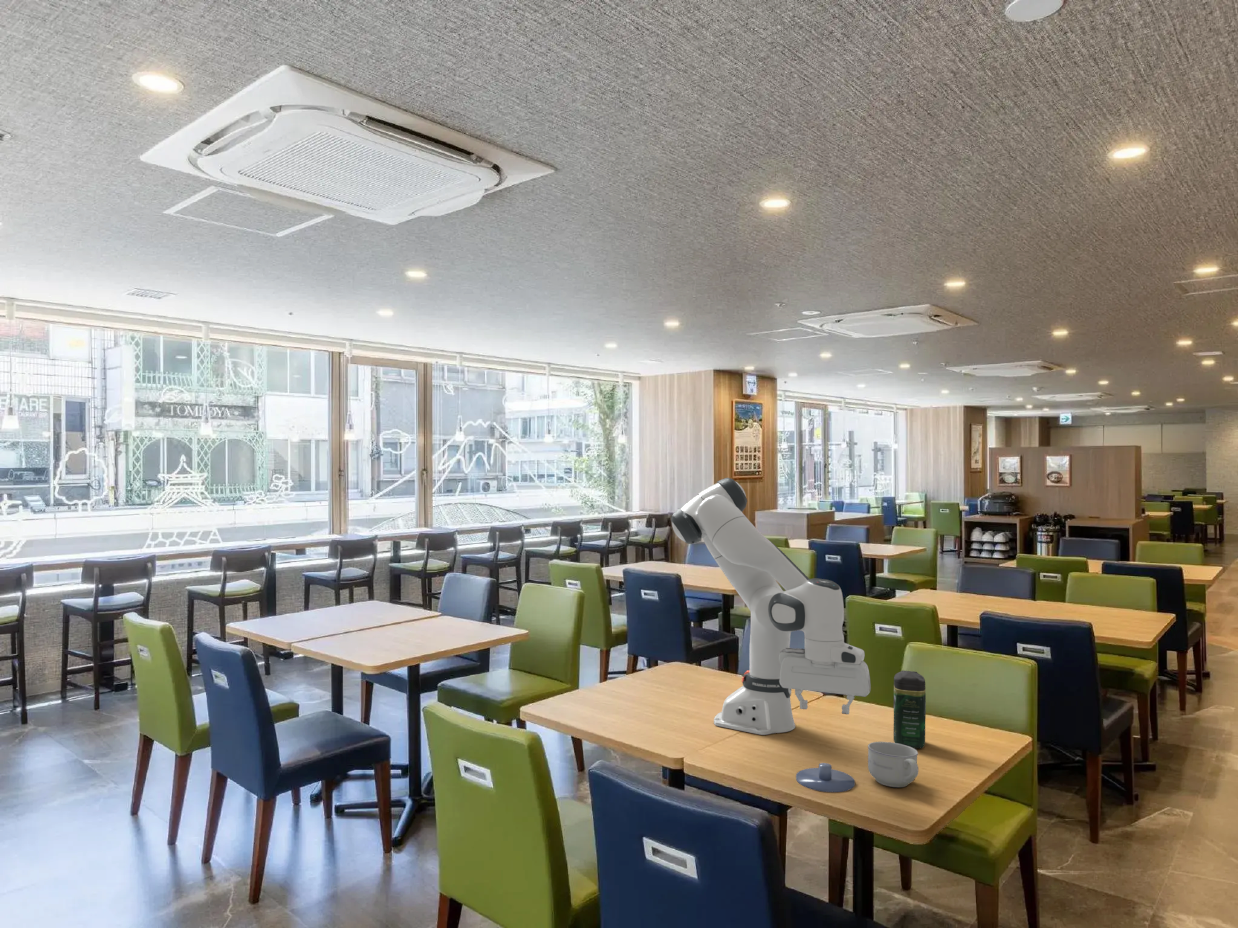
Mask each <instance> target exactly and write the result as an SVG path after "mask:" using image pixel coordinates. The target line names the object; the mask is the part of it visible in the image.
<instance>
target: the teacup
mask: <svg viewBox="0 0 1238 928" xmlns="http://www.w3.org/2000/svg"><path fill="white" fill-rule="evenodd" d="M867 748H868V751H867V752H868V753H867V769H868V772H869V774H870V776H872V778H874V779H875V781H876V782H877V783H879V784H880V785H883V786H886V787H890V788H905V787H907V786H908V785H910V784H911V783H912V782H914V780H915V779H916V778H917V777H918V775H919V765H918V755H919V752H918V750H917V749H916V748H915V749H914V748H912V747H909V746H906V745H902V744H898V743H895V742H891V741H873V742H870V743H869V744H868V745H867Z"/></svg>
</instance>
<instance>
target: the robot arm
mask: <svg viewBox="0 0 1238 928" xmlns="http://www.w3.org/2000/svg"><path fill="white" fill-rule="evenodd" d="M747 503H748V498H747V496H746V491H745V490H744V488H743V487H742V485H741V484H739V483H738V482H737V481H736V480H735V479H733V478H730V477H725V478H722V479H720V480H718V481H716V483H714V484H712V485H710V486H708V487H707V488H705V489H703V490H702V491H700V492H698V493H697V494H696V495H695V496H694V497H692V498H691V499H690V500H689V501H688V502H686V503H685V504H684V505H683V506H682V507H681V508H677V510H675V511H674V513H672V515H671V518H670V522H671V526H672V530H673V532H674V534H675V536H676V537H678V539H679V540H680V541H683V542H684V543H685V544H689V545H693V544H696V543H699V542H701V541H703V542H704V544H705V546H706V548H707V550H708V552H709V553H710V554H711V556H712V558H713V560H714V561H715V563H716V564H717V565H718V567H719V569H720V570H721V571H722V573H723V575H724V576H725V577H726V578H727V580H728V582H729V583H730V585H732V587H733V588H734V590H735V591H736V592H737V594H738V595H739V597H740V598H741V600H742V601H743V602H744V604H745V605H746V607H747V608H748V610H749V612H750V630H749V631H750V632H749V634H750V636H749V670H746V671H745V672H744V673H743V675H742V677H741V683H742V686H740V687H739V688H738V689H736V690H735V691H733V692H732V693H731V694H729V695H728V696H727V697H726V698H725V699H724V701H723V704H722V709H721V711H720V712H718V713H717V714H716V715H715V716H714V718H713V724H714V726H716V727H722V728H727V729H730V730H735V731H740V732H747V733H751V734H754V735H760V736H761V735H762V736H765V735H771V734H776V733H777V734H780V733H787V732H791V731H793V730H794V729H795V728H796V722H795V719H794V715H793V711H792V710H793V709H792V703H791V702H792V701H791V696H792V690H794V695H795V697H796V698H797V700H798V702H799V709H801V710H807V709H808V704H809V703H808V700H807V699H804V697H803V695H802V694H803V692H804V691H807V692H808V691H809V692H810V691H811V692H819V693H828V694H838V695H844V696H845V695H846V699H847V700H848V701H847V703H846V704H842V705H841V714H843V715H850V706H851V705H852V702H853V701H854V699H855V697H856V696H857V697H865V698H866V697H867V696H868V695H869V694H870V693H871V689H872V687H871V686H872V685H871V676H870V670H869V666H868V664H867V663H866V662H865V661H864V659H865V650H863V649H862V648H860V647H856V646H854V645H850V644H849V643H846V642H845V636H844V633H843V624H844V621H845V612H844V610H845V609H844V607H845V605H844V597H843V592H842V589H841V587H840V585H839V584H837V582H834V581H833V580H831V579H830V580H829V579H825V578H823V579H822V578H817V577H816V578H810V577H808V576H807V574H805V573H804V572H803V571H802V570H801V569H800V568H799V566H797V565H796V564H795V563H794V562H793V560H791V559H790V557H788V555H786V553H785V552H783V551H782V550H781V549H780V548H779V547H777V545H775V544H774V543H773V542H772V541H770V540H769V539H768V538H767V537H766V536H764V534H763V533H761V532H760V530H759V529H758V528H756V526H754V524H753V523H752V522H751V521H750V520H749V519H748V517H747V516H746V515H745V514H744V513H743V511H744V510H745V509H746V508H747ZM783 589H784V590H783ZM796 631H801V632H803V633H804V634H803V635H804V639H803V640H804V648H799V647H797V648H794V647H790V645H791V636H792V635H791V634H792V632H796Z"/></svg>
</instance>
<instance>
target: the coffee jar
mask: <svg viewBox="0 0 1238 928" xmlns="http://www.w3.org/2000/svg"><path fill="white" fill-rule="evenodd" d="M926 695H927V694H926V679H925V677H924V676H923V675H922V674H920V673H919V672H917V671H913V670H910V671H909V670H904V669H903V670H901V671H899V672H897V673H895V675H894V677H893V734H892V735H893V743H898V744H902V745H906V746H909V747H912V748H914V749H915V750H916V749H924V748H925V745H926V716H927V715H926V714H927V712H926V711H927V710H926V709H927V705H926V703H927V702H926V701H927V699H926V698H927V697H926Z"/></svg>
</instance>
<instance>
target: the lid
mask: <svg viewBox="0 0 1238 928" xmlns="http://www.w3.org/2000/svg"><path fill="white" fill-rule="evenodd" d="M832 766H833V765H831V764H830V763H828V762H821V763H819V764H818V767H809V768H804V769H802V770H799V771H798V772H797V773H796V775H795V779H796V782H797V783H798V785H801V786H802V787H804V788H805V789H809V790H812V791H817V792H823V793H840V792H841V793H842V792H843V793H844V792H847V791H850V790H852V789H854V788H855V785H856V783H855V778H854V777H853V776H851V775H850V774H849V773H846V772H843V771H841V770H837V769H832Z"/></svg>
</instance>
